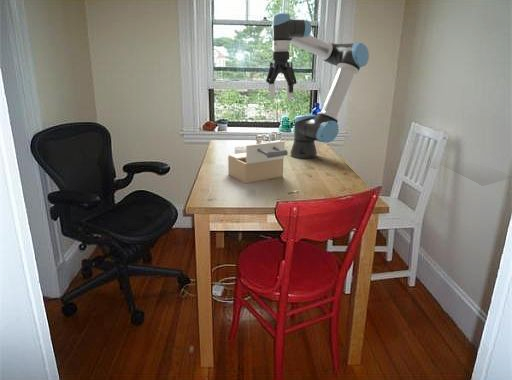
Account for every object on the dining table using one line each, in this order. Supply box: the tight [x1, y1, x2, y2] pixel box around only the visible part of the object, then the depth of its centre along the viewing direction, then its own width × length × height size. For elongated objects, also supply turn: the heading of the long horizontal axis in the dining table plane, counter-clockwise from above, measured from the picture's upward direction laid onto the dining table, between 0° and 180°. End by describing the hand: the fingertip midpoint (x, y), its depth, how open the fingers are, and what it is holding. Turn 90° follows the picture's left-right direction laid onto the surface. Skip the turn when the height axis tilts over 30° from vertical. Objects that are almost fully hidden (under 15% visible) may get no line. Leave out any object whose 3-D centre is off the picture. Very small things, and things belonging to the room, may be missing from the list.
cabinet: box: [227, 153, 284, 185], centre depth 167 cm, size 20×16×10 cm
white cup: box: [234, 145, 247, 154], centre depth 181 cm, size 8×8×10 cm
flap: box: [246, 140, 288, 164], centre depth 154 cm, size 19×8×10 cm
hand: (280, 98), depth 172 cm, fingers open, 13 cm apart
